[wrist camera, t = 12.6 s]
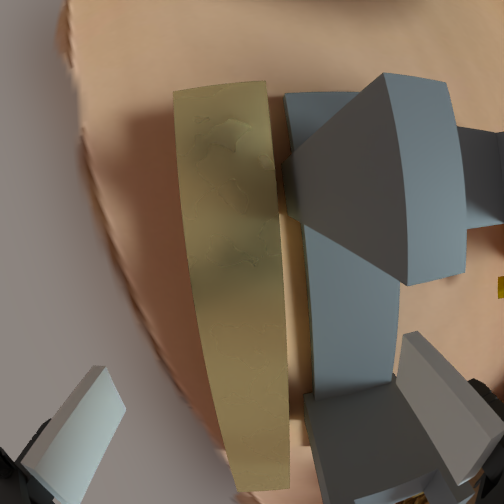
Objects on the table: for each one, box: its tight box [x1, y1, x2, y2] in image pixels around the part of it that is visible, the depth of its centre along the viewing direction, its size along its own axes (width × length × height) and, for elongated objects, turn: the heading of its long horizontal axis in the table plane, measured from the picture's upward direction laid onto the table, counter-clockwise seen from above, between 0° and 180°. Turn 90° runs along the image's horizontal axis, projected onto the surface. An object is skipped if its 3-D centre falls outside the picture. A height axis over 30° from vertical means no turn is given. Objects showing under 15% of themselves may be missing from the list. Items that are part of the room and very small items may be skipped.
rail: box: [173, 81, 290, 492], centre depth 15 cm, size 26×4×5 cm, turn 5°
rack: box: [281, 73, 504, 504], centre depth 11 cm, size 27×7×13 cm, turn 8°
